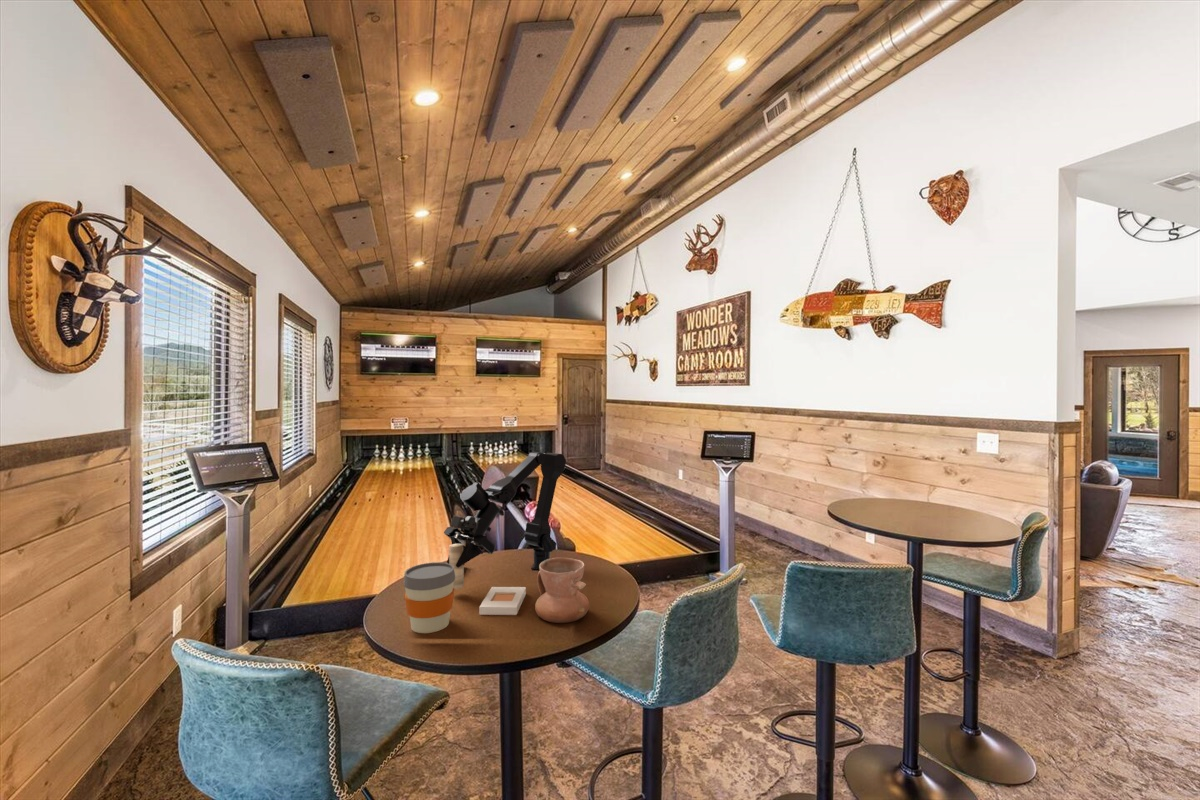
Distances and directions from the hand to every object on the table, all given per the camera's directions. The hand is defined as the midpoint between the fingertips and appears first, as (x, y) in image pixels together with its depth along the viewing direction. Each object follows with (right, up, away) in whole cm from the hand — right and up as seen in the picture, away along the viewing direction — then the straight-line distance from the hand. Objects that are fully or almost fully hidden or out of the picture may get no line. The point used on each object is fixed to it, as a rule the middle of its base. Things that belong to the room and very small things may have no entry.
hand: (452, 565), depth 149 cm
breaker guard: (+16, -10, -5) cm, 19 cm away
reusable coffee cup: (-1, -11, -18) cm, 21 cm away
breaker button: (+16, -9, -5) cm, 19 cm away
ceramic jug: (+32, -10, -11) cm, 36 cm away
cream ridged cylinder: (+1, -7, +1) cm, 7 cm away
